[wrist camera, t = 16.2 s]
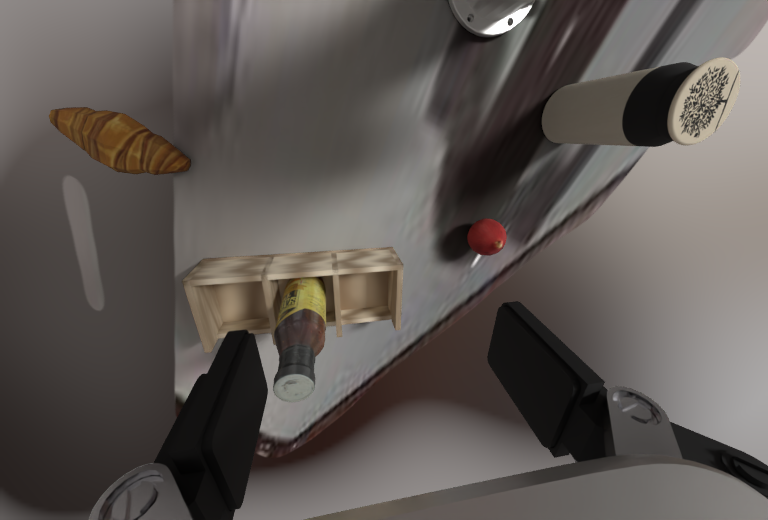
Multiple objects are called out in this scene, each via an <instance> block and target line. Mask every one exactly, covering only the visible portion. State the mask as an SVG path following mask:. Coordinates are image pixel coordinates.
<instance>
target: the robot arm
mask: <svg viewBox="0 0 768 520" xmlns="http://www.w3.org/2000/svg"><path fill="white" fill-rule="evenodd" d="M448 1H449V4H450V7H451V9H452V11H453V13H454V15H455V17H456V19H457V20H458V21H459V22H460V24H461V25H462V26H463V27H464V28H465V29H467V30H468V31H469V32H471V33H473V34H475V35H477V36H481V37H495V36H499V35H502V34H504V33H506V32H508V31H510V30H511V29H512V28H514V27H515V26H517V25H518V24H519V23H520V22H521V21H522V20H523V19H524V18H525V17H526V15H527V14H528V12H529V11H530V9H531V8H532V6H533V4H534V2H535V0H448ZM467 18H468V19H469V22H468V20H467ZM507 23H508V24H507ZM488 363H489V365H490V367H491V368H492V370H493V371H494V373H495V374H496V376H497V377H498V379H499V380H500V382H501V383H502V385H503V386H504V388H505V390H506V391H507V393H508V394H509V396H510V397H511V399H512V400H513V402H514V403H515V405H516V406H517V407H518V409H519V411H520V412H521V414H522V415H523V417H524V418H525V420H526V421H527V423H528V424H529V426H530V427H531V429H532V430H533V432H534V433H535V435H536V436H537V438H538V439H539V441H540V442H541V444H542V445H543V446H544V447H546V448H548V449H549V450H550V452H551V453H552V455H553V456H554V457H560V456H565V455H569V453H570V454H571V455H572V456H573V458H574V459H575V463H572V464H566V465H561V466H556V467H551V468H546V469H541V470H536V471H532V472H526V473H522V474H517V475H512V476H507V477H502V478H497V479H492V480H488V481H483V482H478V483H473V484H468V485H463V486H459V487H454V488H450V489H445V490H440V491H435V492H430V493H425V494H421V495H416V496H412V497H407V498H402V499H397V500H392V501H388V502H383V503H378V504H374V505H369V506H365V507H360V508H355V509H351V510H346V511H341V512H337V513H332V514H327V515H323V516H318V517H314V518H309V519H305V520H768V466H767V465H766V464H764V463H762V462H761V461H759V460H757V459H756V458H754V457H752V456H750V455H748V454H746V453H744V452H742V451H740V450H737V449H735V448H732V447H730V446H728V445H725V444H723V443H720V442H718V441H716V440H713V439H710V438H708V437H705V436H703V435H701V434H698V433H696V432H694V431H691V430H689V429H686V428H684V427H682V426H679V425H676V424H674V423H672V422H670V421H669V418H668V417H667V415H666V413H665V411H664V410H663V409H662V408H661V407H660V406H659V405H658V404H657V403H656V402H654V401H653V400H652V399H651V398H649V397H647V396H646V395H644V394H642V393H641V392H638V391H636V390H633V389H631V388H626V387H621V386H615V387H612V388H610V389H609V390H607V389H606V388H605V387H603V385H604V383H605V382H604V381H603V380H602V379H601V378H600V377H599V376H598V375H597V374H596V373H595V372H594V371H593V370H592V369H590V367H588V366H587V365H586V364H585V363H584V362H583V361H582V360H581V359H580V358H579V357H578V356H577V355H576V354H575V353H574V352H572V351H571V350H570V349H569V348H568V347H567V346H566V345H565V344H564V343H563V342H562V341H561V340H559V338H558V337H556V336H555V335H554V334H553V333H552V332H551V331H550V330H549V329H548V328H547V327H546V326H545V325H544V324H543V323H541V322H540V321H539V320H538V319H537V318H536V317H535V316H534V315H533V314H532V313H531V312H530V311H529V310H528V309H526V307H524V306H523V305H522V304H521V303H520V302H517V301H516V302H507V303H503V304H502V306H501V307H499V309H498V312H497V317H496V321H495V325H494V330H493V334H492V339H491V343H490V348H489V352H488ZM267 393H268V388H267V383H266V379H265V375H264V371H263V367H262V363H261V359H260V355H259V351H258V348H257V344H256V340H255V336H254V334H253V333H249V332H248V330H246V329H245V330H236V331H229V332H228V333H227V334H226V336H225V338H224V340H223V342H222V344H221V346H220V348H219V350H218V353H217V355H216V357H215V359H214V361H213V363H212V365H211V367H210V369H209V371H208V373H207V374H202V375H201V376H199V378H198V379H197V381H196V383H195V384H194V386H193V388H192V390H191V392H190V394H189V396H188V398H187V400H186V402H185V404H184V406H183V408H182V409H181V411H180V413H179V415H178V417H177V419H176V421H175V423H174V425H173V427H172V429H171V431H170V433H169V435H168V436H167V438H166V440H165V442H164V444H163V446H162V448H161V450H160V452H159V454H158V456H157V458H156V459H155V461H154V463H152V464H146V465H143V466H141V467H138V468H136V469H134V470H132V471H130V472H129V473H127V474H125V475H124V476H122V477H121V478H120V479H119V480H117V481H116V482H115V483H114V484H112V486H111V487H109V489H108V490H107V491H106V492H105V493H104V494H103V495H102V496H101V498H100V499H99V500H98V502H97V503H96V505H95V506H94V508H93V510H92V513H91V515H90V518H89V520H233V516H234V512H235V509H239V508H240V507H241V505H242V503H243V499H244V495H245V491H246V486H247V482H248V478H249V473H250V469H251V465H252V460H253V456H254V452H255V447H256V443H257V439H258V434H259V430H260V426H261V421H262V417H263V413H264V408H265V404H266V399H267Z"/></svg>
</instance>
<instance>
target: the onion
mask: <svg viewBox="0 0 768 520" xmlns="http://www.w3.org/2000/svg"><path fill="white" fill-rule="evenodd" d="M506 238H507V237H506V231H505V229H504V228H503V227H502V225H501V224H500V223H498V222H497V221H495V220H493V219H482V220H479V221H477V222H476V223H474V224H473V225H472V227H471V228H470V229H469V232H468V236H467V239H468V244H469V245H470V247H471V248H472V249H473V251H475V252H477V253H478V254H480V255H493V254H496V253H498V252H499V251H500V250H501V249H503V247H504V245H505V242H506Z"/></svg>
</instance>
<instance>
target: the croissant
mask: <svg viewBox="0 0 768 520" xmlns="http://www.w3.org/2000/svg"><path fill="white" fill-rule="evenodd" d="M49 118H50V121H51V123H52V124H53V125H54V126H55V127H56V128H57V129H58V130H59V131H60V132H61V133H63V134H64V135H65V136H66V137H68V138H69V139H70V140H72V141H73V142H74V143H76V144H77V145H78V146H79V147H81V148H82V149H83V150H85V151H86V152H87V153H88V154H89V155H90V156H91V158H93V159H95V160H97V161H99V162H101V163H103V164H105V165H107V166H108V167H110V168H112V169H114V170H115V171H117V172H124V173H132V174H139V173H145V172H147V173H150V174H154V175H158V174H167V173H176V172H184V171H188V169H189V167H190V165H191V161H190V159H189V158H188V157H187V156H185V155H184V154H183V153H182V152H180V151H179V150H178V149H177V148H176V147H174V146H173V145H172V144H171V143H169V142H168V141H167V140H165V139H164V138H163V137H162V136H159V135H156V134H153V133H152V132H151V131H149V130H148V129H147V128H146V127H145V126H143V125H142V124H140V123H139V122H137V121H135V120H134V119H132V118H130V117H129V116H127V115H126V114H123V113H117V112H111V111H94V110H92V109H90V108H87V107H83V108H82V107H81V108H63V109H55V110H51V112H50V115H49Z"/></svg>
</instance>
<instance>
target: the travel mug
mask: <svg viewBox="0 0 768 520" xmlns="http://www.w3.org/2000/svg"><path fill="white" fill-rule="evenodd" d="M739 88H740V72H739V69H738V67H737V65H736V64H735V63H734V62H733V61H732V60H730V59H728V58H715V59H712V60H709V61H707V62H705V63H703V64H702V65H700V66H695V65H693V64H691V63H687V62H681V63H676V64H671V65H666V66H661V67H656V68H651V69H646V70H641V71H636V72H631V73H626V74H621V75H616V76H611V77H606V78H601V79H596V80H591V81H586V82H581V83H576V84H571V85H567V86H564V87H562V88H560V89H559V90H557V91H556V92H555V93H554V94H553V95H552V96H551V97H550V99H549V100H548V102H547V104H546V106H545V108H544V111H543V115H542V128H543V132H544V134H545V136H546V137H547V138H548V139H549V140H550V141H552V142H554V143H569V144H595V145H622V146H649V147H656V146H661V145H664V144H666V143H669V142H671V141H675V142H676V143H678V144H681V145H693V144H696V143H699V142H701V141H703V140H704V139H706V138H707V137H709V136H710V135H711V134H712V133H714V132H715V131H716V130H717V129H718V128H719V127H720V126H721V125H722V123H723V122H724V121H725V120H726V118H727V117H728V115H729V114H730V112H731V110H732V108H733V106H734V104H735V102H736V99H737V96H738V93H739Z"/></svg>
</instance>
